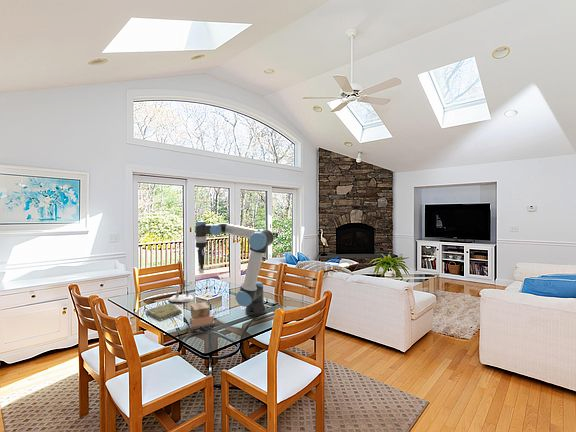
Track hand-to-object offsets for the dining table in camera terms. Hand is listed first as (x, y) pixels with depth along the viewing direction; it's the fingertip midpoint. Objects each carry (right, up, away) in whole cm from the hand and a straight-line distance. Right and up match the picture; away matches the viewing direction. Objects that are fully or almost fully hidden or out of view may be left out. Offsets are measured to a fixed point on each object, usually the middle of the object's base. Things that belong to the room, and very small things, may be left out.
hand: (201, 273), depth 232 cm
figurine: (-24, -28, +27) cm, 46 cm away
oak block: (+4, -29, -18) cm, 35 cm away
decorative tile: (-27, -30, -1) cm, 40 cm away
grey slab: (+3, -31, -15) cm, 34 cm away
